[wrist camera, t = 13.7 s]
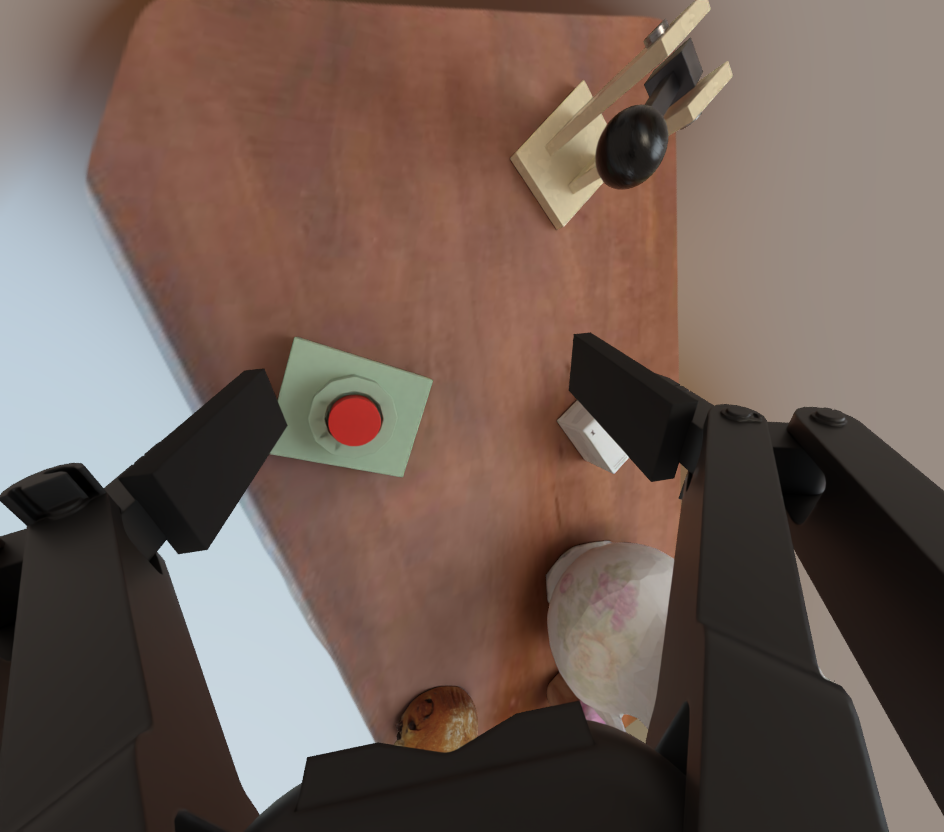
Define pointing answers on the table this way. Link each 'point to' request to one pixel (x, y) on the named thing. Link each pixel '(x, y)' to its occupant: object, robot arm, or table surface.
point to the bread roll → (438, 720)
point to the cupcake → (568, 697)
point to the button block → (338, 375)
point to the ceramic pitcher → (610, 625)
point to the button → (354, 420)
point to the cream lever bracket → (581, 123)
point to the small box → (591, 439)
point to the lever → (646, 123)
